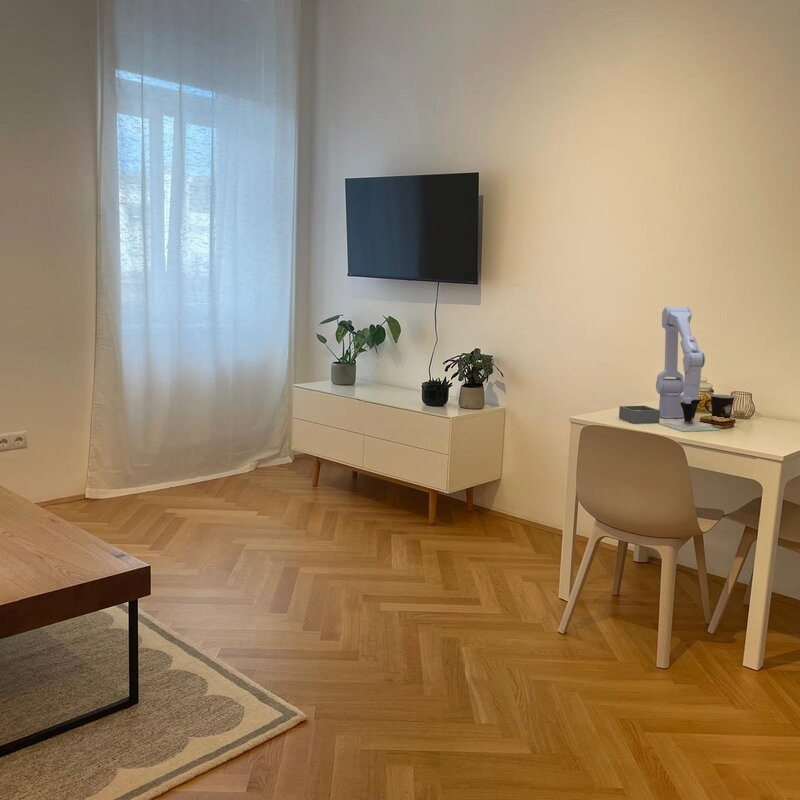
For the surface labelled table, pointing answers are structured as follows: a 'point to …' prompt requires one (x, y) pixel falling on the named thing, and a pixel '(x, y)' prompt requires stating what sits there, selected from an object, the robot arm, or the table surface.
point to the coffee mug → (721, 405)
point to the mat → (690, 430)
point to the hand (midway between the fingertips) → (689, 420)
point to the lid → (688, 424)
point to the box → (639, 414)
